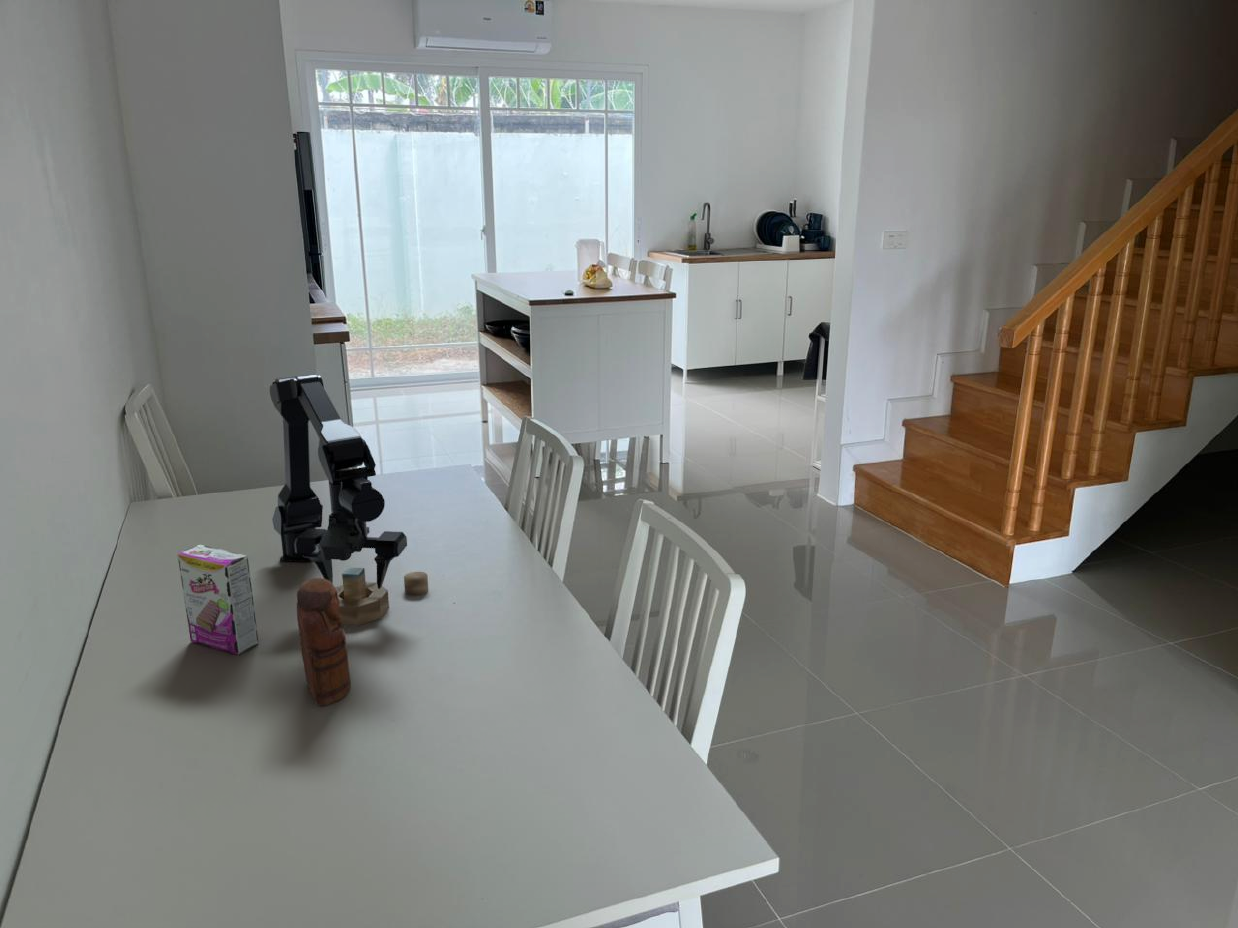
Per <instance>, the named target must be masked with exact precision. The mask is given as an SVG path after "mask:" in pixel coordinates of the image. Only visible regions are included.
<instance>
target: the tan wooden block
mask: <svg viewBox="0 0 1238 928" xmlns="http://www.w3.org/2000/svg"><path fill="white" fill-rule="evenodd" d="M365 571H366V570H365V568H364V567H349V566H348V567H347V568H346V569H345V570H344V571H343V572H342V573H341V577H342V585H343V590H344V600H350V601H357V600H361V599H364V598H367V593H366V582H367V581H366V572H365Z"/></svg>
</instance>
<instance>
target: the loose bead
mask: <svg viewBox="0 0 1238 928" xmlns="http://www.w3.org/2000/svg"><path fill="white" fill-rule="evenodd" d="M403 580H404V581H403V582H404V583H403V584H404V593H405V594H406V595H409V596H420V595H421V596H422V595H424V594H426V593H427V592H428V591H429V578H428V573H426V572H424V571H411V572H409V573H405V574H404V576H403Z"/></svg>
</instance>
